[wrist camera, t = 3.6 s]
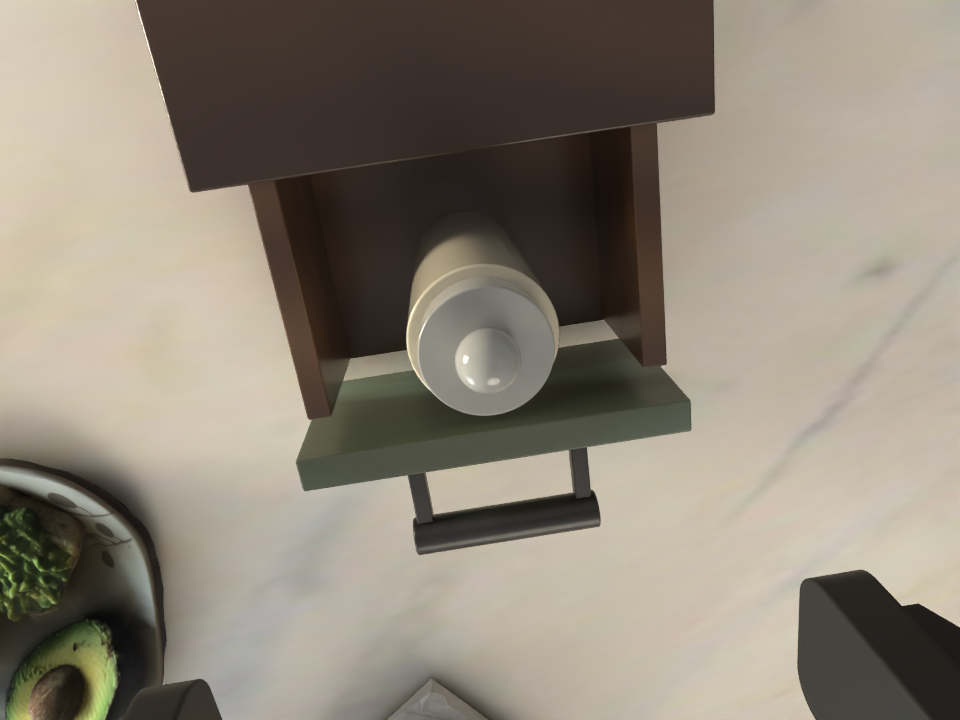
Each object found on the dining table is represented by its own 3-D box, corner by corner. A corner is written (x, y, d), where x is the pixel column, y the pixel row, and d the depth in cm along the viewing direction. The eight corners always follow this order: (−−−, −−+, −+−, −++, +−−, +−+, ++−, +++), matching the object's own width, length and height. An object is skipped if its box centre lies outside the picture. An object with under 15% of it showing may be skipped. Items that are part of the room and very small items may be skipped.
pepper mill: (486, 190, 25) (528, 253, 14) (534, 280, 27) (606, 401, 16) (395, 243, 26) (368, 343, 15) (447, 329, 27) (457, 479, 16)
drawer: (640, 448, 31) (695, 536, 25) (351, 493, 31) (330, 593, 24) (615, 19, 25) (679, -11, 18) (250, 73, 24) (186, 61, 18)
